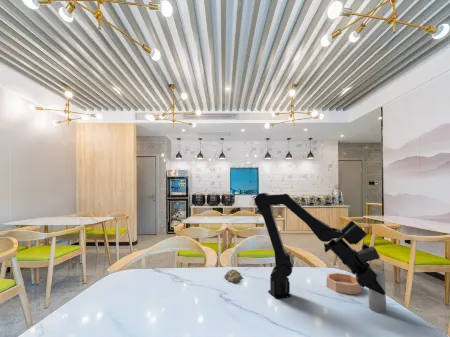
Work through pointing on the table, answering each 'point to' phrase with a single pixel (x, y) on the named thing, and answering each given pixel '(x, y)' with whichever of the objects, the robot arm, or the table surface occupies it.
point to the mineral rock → (233, 276)
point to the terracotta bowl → (343, 283)
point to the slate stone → (378, 294)
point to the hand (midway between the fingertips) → (381, 289)
